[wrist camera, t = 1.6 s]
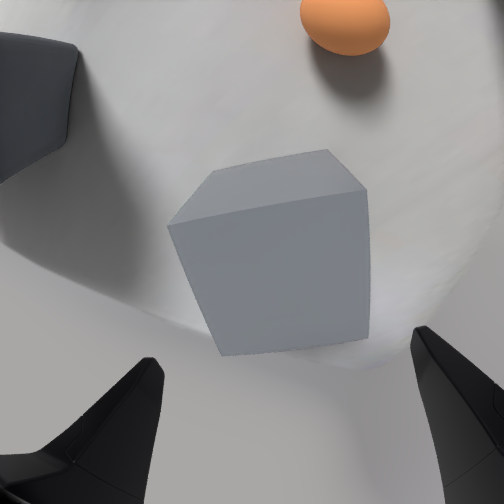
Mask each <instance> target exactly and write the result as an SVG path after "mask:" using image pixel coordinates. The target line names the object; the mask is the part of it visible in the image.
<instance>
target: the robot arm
mask: <svg viewBox="0 0 504 504" xmlns="http://www.w3.org/2000/svg"><path fill="white" fill-rule="evenodd" d="M410 349H411V354H412V358H413V363H414V368H415V373H416V377H417V382H418V387H419V391H420V394H421V398H422V401H423V405H424V408H425V412H426V415H427V418H428V422H429V426H430V430H431V434H432V438H433V442H434V446H435V450H436V454H437V459H438V464H439V468H440V473H441V479H442V484H443V490H444V497H445V504H504V390H503V389H502V388H501V387H499V385H497V384H496V383H495V384H494V381H493V380H492V379H490V378H489V377H488V376H487V375H486V374H484V373H483V372H482V371H481V370H480V369H479V368H478V367H476V366H475V365H474V364H473V363H472V362H470V361H469V360H468V359H467V358H466V357H464V356H463V355H462V354H461V353H459V352H458V351H457V350H456V349H455V348H453V347H452V346H451V345H450V344H449V343H447V342H446V341H445V340H444V339H442V338H441V337H440V336H439V335H437V334H436V333H435V332H434V331H432V330H431V329H430V328H429V327H427V326H420V327H416V328H415V329H414V330H413V335H412V339H411V344H410ZM164 377H165V376H164V371H163V370H162V368H161V366H160V365H159V363H158V362H157V361H156V359H155V358H153V357H145V358H143V359H142V360H141V361H140V362H138V363H137V364H136V365H135V366H134V367H133V368H132V369H131V370H130V371H129V372H128V373H127V374H126V375H125V376H124V377H122V378H121V379H120V380H119V381H118V382H117V383H116V384H115V385H114V386H113V387H112V388H111V389H110V390H109V391H108V392H107V393H105V394H104V395H103V396H102V397H101V398H100V399H99V400H98V401H97V402H96V403H95V404H94V405H93V406H92V407H90V408H89V409H88V410H87V411H86V412H85V413H84V414H83V416H81V417H80V418H79V419H78V420H77V421H76V422H74V423H73V424H72V425H71V426H70V427H69V428H68V429H66V430H65V431H64V432H63V433H62V434H60V435H59V436H58V437H56V438H55V439H54V440H52V441H51V442H50V443H49V444H47V445H46V446H44V447H43V448H42V449H41V450H38V451H36V452H33V453H27V454H11V455H0V504H144V497H145V490H146V485H147V479H148V474H149V468H150V462H151V457H152V452H153V447H154V442H155V436H156V432H157V427H158V422H159V417H160V412H161V405H162V395H163V385H164Z"/></svg>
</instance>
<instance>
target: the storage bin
mask: <svg viewBox="0 0 504 504" xmlns="http://www.w3.org/2000/svg"><path fill="white" fill-rule="evenodd" d="M77 57H78V50H77V47H76V46H75V45H73V44H70V43H65V42H61V41H56V40H51V39H46V38H41V37H35V36H29V35H22V34H14V33H6V32H0V183H2V182H3V181H5V180H6V179H8V178H9V177H11V176H12V175H14V174H15V173H17V172H19V171H20V170H22V169H23V168H25V167H27V166H28V165H30V164H32V163H33V162H35V161H37V160H38V159H40V158H42V157H44V156H46V155H47V154H49V153H51V152H53V151H55V150H56V149H58V148H60V147H61V146H62V145H63V144H64V143H65V140H66V134H67V121H68V112H69V103H70V96H71V89H72V83H73V77H74V71H75V67H76V62H77Z"/></svg>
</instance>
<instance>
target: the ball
mask: <svg viewBox="0 0 504 504" xmlns="http://www.w3.org/2000/svg"><path fill="white" fill-rule="evenodd" d="M300 17H301V21H302V24H303V26H304V29H305V30H306V32H307V33H308V35H309V36H310V37H311V38H312V39H313V40H314V41H315V42H316V43H317V44H318V45H320V46H321V47H323V48H324V49H326V50H328V51H331V52H333V53H337V54H341V55H348V56H356V55H362V54H366V53H369V52H371V51H373V50H375V49H376V48H378V47H379V46H380V45H381V44H382V43H383V42H384V40H385V39H386V37H387V35H388V32H389V28H390V17H389V13H388V10H387V7H386V5H385V4H384V2H383V1H382V0H302V2H301V6H300Z"/></svg>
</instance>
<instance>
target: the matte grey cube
mask: <svg viewBox="0 0 504 504" xmlns="http://www.w3.org/2000/svg"><path fill="white" fill-rule="evenodd" d="M167 227H168V230H169V232H170V235H171V238H172V240H173V243H174V246H175V248H176V251H177V253H178V256H179V259H180V261H181V264H182V266H183V269H184V271H185V274H186V276H187V279H188V281H189V283H190V286H191V288H192V291H193V293H194V295H195V298H196V300H197V303H198V305H199V307H200V310H201V312H202V314H203V316H204V319H205V321H206V323H207V326H208V328H209V330H210V332H211V334H212V337H213V339H214V341H215V343H216V345H217V348H218V350H219V352H220V354H221V356H234V355H248V354H260V353H271V352H280V351H289V350H297V349H305V348H312V347H320V346H326V345H333V344H339V343H345V342H351V341H356V340H362V339H367V338H368V335H369V315H370V235H369V215H368V201H367V190H366V188H365V187H364V186H363V185H362V184H361V183H360V182H359V181H358V180H357V179H356V178H355V177H354V176H353V175H352V174H351V172H350V171H349V170H348V169H347V168H346V167H345V166H344V165H343V164H342V163H341V162H340V161H339V160H338V159H337V158H336V157H335V156H334V155H333V154H332V153H331V152H330V151H329V150H321V151H315V152H308V153H302V154H296V155H290V156H285V157H279V158H274V159H268V160H263V161H258V162H253V163H248V164H244V165H239V166H234V167H230V168H226V169H221V170H217V171H213V172H212V173H211V174H210V175H209V176H208V177H207V179H206V180H205V181H204V182H203V183H202V184H201V185H200V187H199V188H198V189H197V190H196V191H195V192H194V194H193V195H192V196H191V197H190V198H189V199H188V201H187V202H186V203H185V204H184V205H183V207H182V208H181V209H180V210H179V211H178V213H177V214H176V215H175V216H174V218H173V219H172V220H171V221H170V223H169V224H168V225H167Z"/></svg>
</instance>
